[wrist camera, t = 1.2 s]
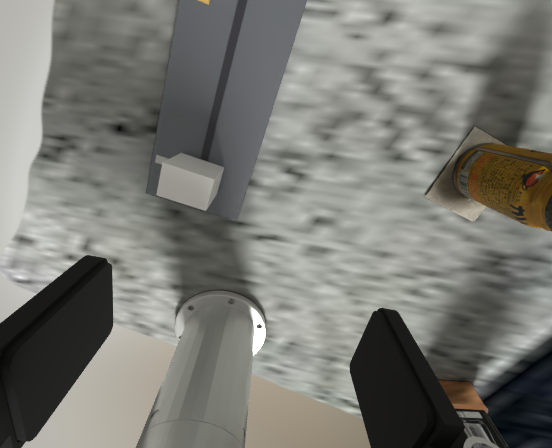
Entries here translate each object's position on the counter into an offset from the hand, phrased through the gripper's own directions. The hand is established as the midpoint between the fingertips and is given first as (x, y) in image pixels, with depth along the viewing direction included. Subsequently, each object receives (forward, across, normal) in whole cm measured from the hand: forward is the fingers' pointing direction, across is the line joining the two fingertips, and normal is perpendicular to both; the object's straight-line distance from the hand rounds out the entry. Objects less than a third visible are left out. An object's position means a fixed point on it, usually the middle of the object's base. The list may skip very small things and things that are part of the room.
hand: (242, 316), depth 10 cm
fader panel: (+23, +6, -6) cm, 24 cm away
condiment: (+23, -23, -4) cm, 33 cm away
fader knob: (+20, +7, +1) cm, 21 cm away
